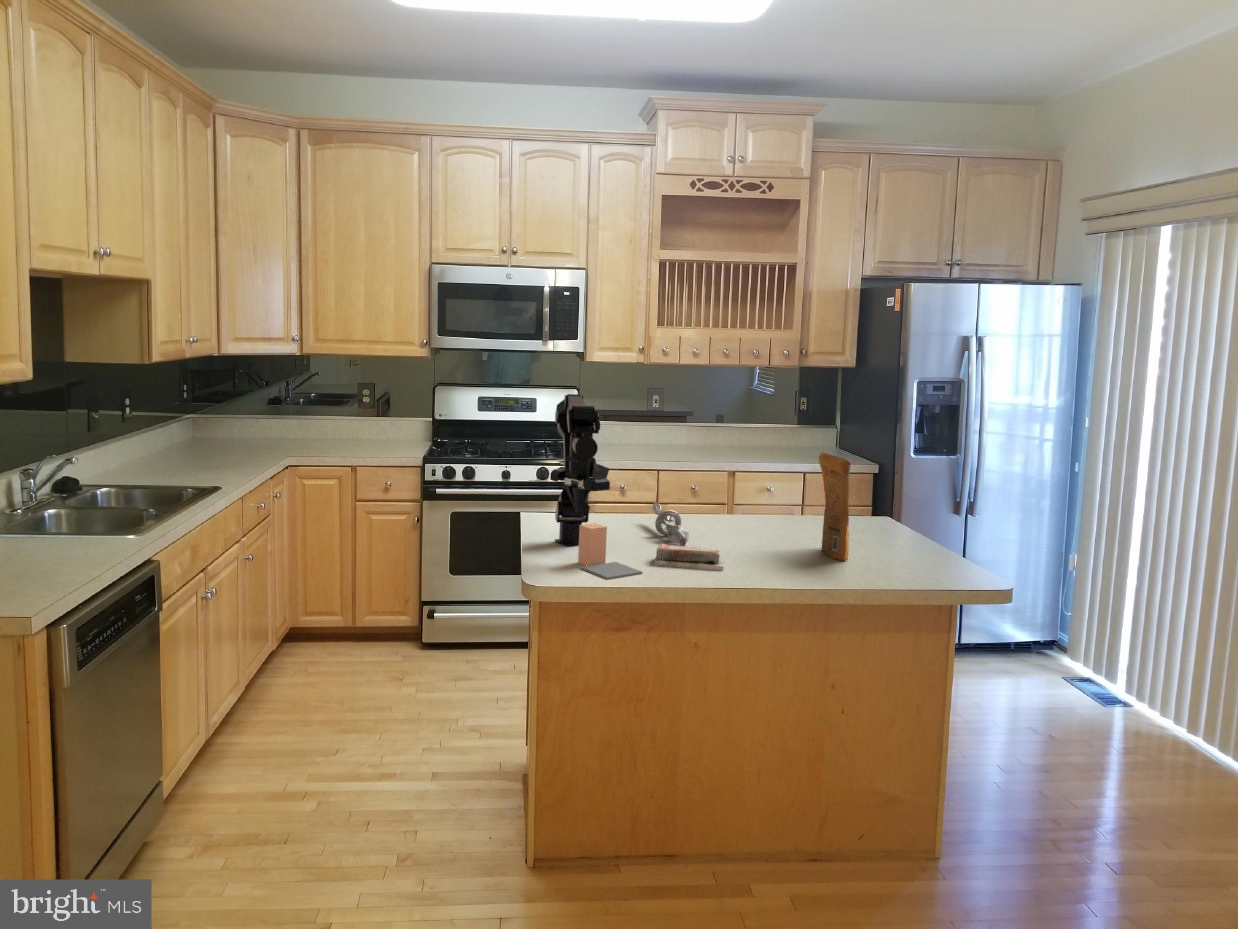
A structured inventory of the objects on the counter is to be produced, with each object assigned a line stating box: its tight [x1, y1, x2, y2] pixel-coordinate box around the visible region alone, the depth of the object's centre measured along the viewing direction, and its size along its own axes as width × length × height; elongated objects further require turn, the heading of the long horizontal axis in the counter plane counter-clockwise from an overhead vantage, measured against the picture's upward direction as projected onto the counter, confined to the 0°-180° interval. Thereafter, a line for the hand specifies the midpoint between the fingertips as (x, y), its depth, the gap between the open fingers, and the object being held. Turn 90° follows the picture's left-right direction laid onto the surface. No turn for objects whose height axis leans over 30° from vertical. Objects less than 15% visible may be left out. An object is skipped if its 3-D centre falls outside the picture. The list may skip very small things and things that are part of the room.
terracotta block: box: [577, 522, 608, 566], centre depth 256 cm, size 5×5×10 cm
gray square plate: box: [580, 561, 643, 580], centre depth 250 cm, size 11×11×1 cm
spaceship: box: [652, 502, 690, 546], centre depth 291 cm, size 8×35×8 cm
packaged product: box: [653, 543, 725, 571], centre depth 261 cm, size 18×5×10 cm
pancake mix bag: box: [818, 452, 852, 562], centre depth 277 cm, size 7×19×28 cm, turn 6°
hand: (578, 511), depth 262 cm, fingers closed
